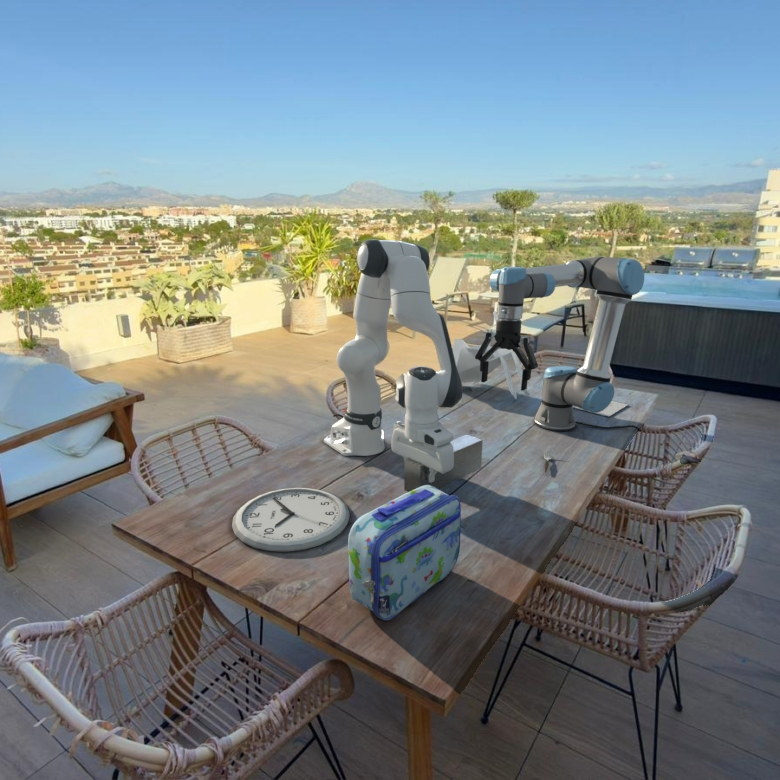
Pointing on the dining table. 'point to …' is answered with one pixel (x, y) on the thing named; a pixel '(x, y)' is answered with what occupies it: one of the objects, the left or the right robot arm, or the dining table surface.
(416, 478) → the bar
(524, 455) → the dining table surface
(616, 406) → the invitation card
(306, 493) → the wall clock
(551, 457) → the fork
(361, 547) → the lunch box
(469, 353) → the white plastic object
